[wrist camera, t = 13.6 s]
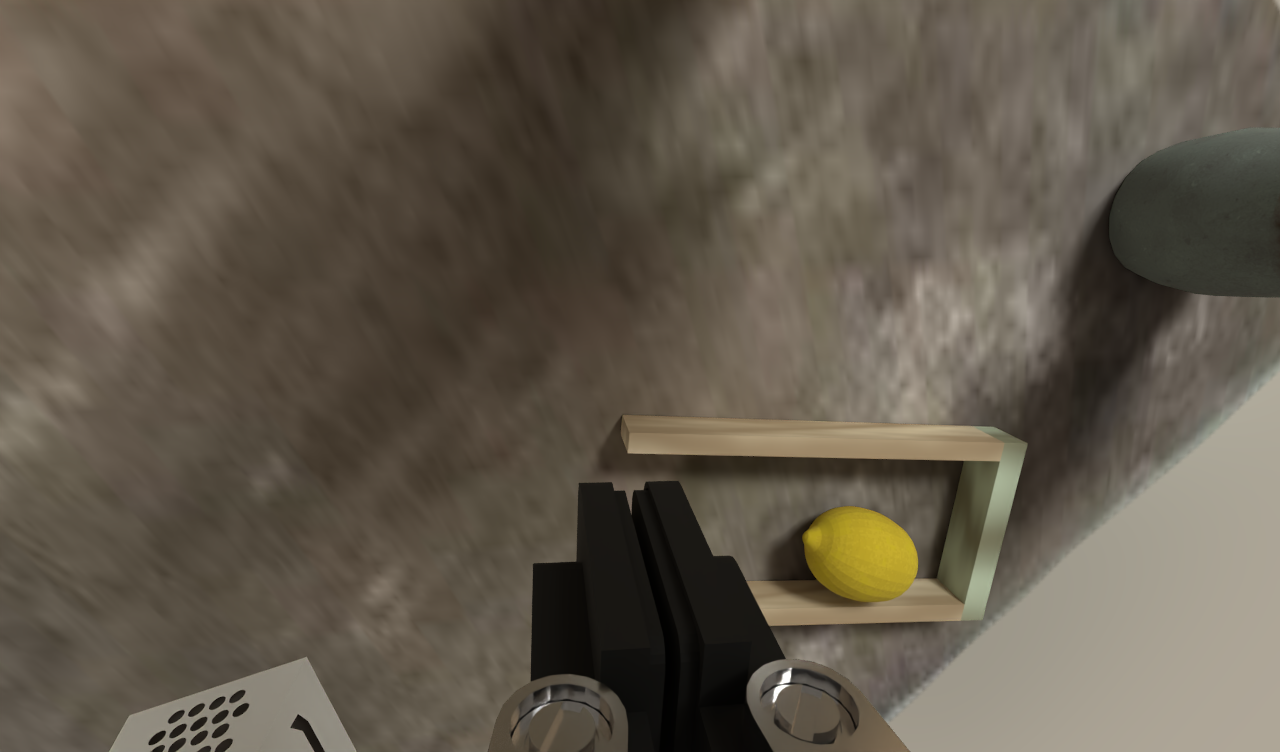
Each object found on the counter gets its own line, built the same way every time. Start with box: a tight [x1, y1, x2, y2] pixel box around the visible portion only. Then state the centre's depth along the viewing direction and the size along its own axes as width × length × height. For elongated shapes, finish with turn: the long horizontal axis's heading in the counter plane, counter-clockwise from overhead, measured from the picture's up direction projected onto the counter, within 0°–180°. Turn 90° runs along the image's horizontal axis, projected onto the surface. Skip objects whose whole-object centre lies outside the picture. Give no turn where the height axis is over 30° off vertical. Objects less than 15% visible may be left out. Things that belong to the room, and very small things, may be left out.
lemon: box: [802, 506, 918, 602], centre depth 39 cm, size 6×6×8 cm
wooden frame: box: [621, 415, 1028, 626], centre depth 39 cm, size 12×25×3 cm, turn 85°
